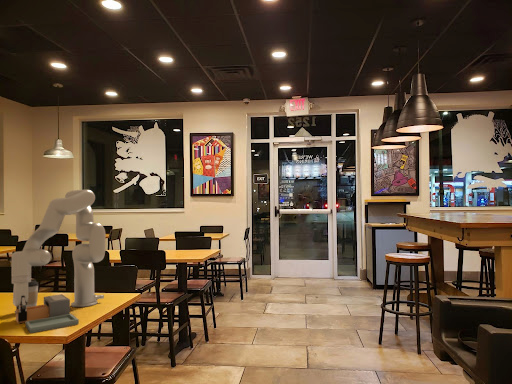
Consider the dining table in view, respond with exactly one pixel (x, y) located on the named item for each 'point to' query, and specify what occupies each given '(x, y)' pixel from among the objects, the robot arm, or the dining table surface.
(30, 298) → the coffee cup
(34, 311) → the orange drawer
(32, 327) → the tray
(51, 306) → the bay housing
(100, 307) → the dining table surface
